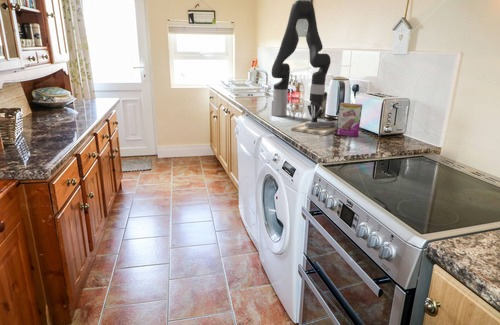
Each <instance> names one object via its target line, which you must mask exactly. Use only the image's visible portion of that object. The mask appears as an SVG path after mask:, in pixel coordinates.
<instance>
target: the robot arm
mask: <svg viewBox="0 0 500 325" xmlns="http://www.w3.org/2000/svg"><path fill="white" fill-rule="evenodd" d="M316 18H317V17H316V12H315V7H314V4H313V2H312V1H311V0H296V1H295V0H294V2H293V4H292V6H291V8H290V12H289V18H288V22H287V25H286V27H285V28H286V29H285V31H284V35H283V37H282V39H281V43H280V47H279V51H278V52H277V56H276V58H275V59H274V62H273V64H272V67H271V76H272V78H274V79H281V80H280V81H278V82H277V83H274V84H273V98H272V100H271V112H270V113H271V114H270V115H271V116H274V117H286V116H287V114H288V113H287V110H288V96H289V93H288V92H289V85H290V77H291V76H290V75H291V74H290V72H291V67H290V64H289V63H286V62H285V61H286V60H287V59H288V58H290V57H291V56H292V55H293V53H295V51H296V50H297V47H298V44H299V41H300V40H299V39H300V38H299V34H298V31H297V23H298V21H299V20H306V21H307V23H308V26H307V29H306V30H307V31H306V35H305V38H306V41H305V42H306V44H307V46H308V51H309V63H310V65H311V67H312V68H316V69H318V70H317V71H314V72H313V73H312V74H311V86H310V88H309V89H310V90H309V91H310V92H309V102H310V104H307V106H306V107H307V110H308V113H309V116H310V115H311V116H312V117H311V116H310V117H311V121H312V122H317V121H318V119H319V118H318V117H320V116H321V115H322V114H323V112H324V111H325V110H324V109H322V102H323V101H324V92H326V91H325V90H326V76H327V74H328V71H329V68H330V65H331V56H330V55H329V54H328V53H320V52H321V51H322V50H323V48H324V47H323V42H322V40H321V37H320V35H319V29H318V25H317V19H316ZM284 62H285V63H284ZM325 112H326V111H325Z"/></svg>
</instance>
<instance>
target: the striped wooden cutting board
mask: <svg viewBox="0 0 500 325" xmlns="http://www.w3.org/2000/svg"><path fill="white" fill-rule="evenodd" d="M310 122H312V119H311V120H308V121H305V122H303V123H300V124H297V125H295V126H292V127H290V130H291V132H292V131H293V132H298V131H300V132H299V133H304V132H306V134H311V133H312V134H311V135H317V134H318V136H326V135H328V134H330V133H332V132H334V131H337V126H325V127H310V128H308V127H306V123H310ZM317 122H319V121H318V120H317Z"/></svg>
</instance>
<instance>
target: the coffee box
mask: <svg viewBox="0 0 500 325" xmlns="http://www.w3.org/2000/svg"><path fill="white" fill-rule="evenodd" d="M327 98H328V92H327V91H325V92H324V101H323V102H322V109H324V110H325V111H324V112H323V114H322V115H321V116H320V117H321V118H322V119H325V118H326V110H327V100H328V99H327ZM309 116H310V118H312V116H311V115H310V114H309ZM324 117H325V118H324Z"/></svg>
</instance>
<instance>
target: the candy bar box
mask: <svg viewBox="0 0 500 325" xmlns="http://www.w3.org/2000/svg"><path fill="white" fill-rule="evenodd" d="M338 106H339V107H338V116H337V129H336V130H335V131H336V134H335V135H336V136H341V137H342V136H345V137H353V138H358V137H359V132H360V127H361V126H360V124H361V119H362V118H361V117H362V111H363V110H362V109H363V104H361V103H352V102H351V103H349V102H340V103H339V105H338Z"/></svg>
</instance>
